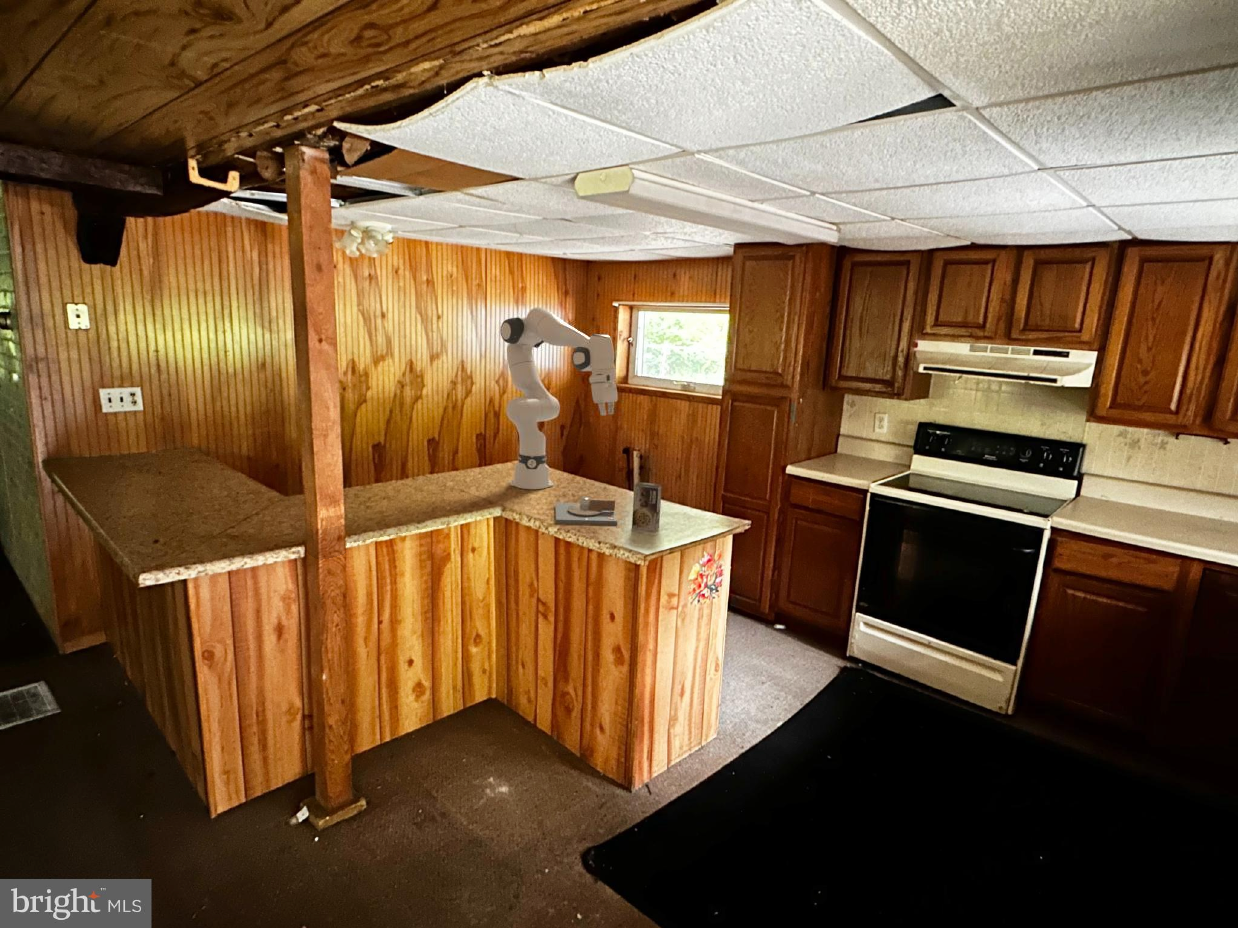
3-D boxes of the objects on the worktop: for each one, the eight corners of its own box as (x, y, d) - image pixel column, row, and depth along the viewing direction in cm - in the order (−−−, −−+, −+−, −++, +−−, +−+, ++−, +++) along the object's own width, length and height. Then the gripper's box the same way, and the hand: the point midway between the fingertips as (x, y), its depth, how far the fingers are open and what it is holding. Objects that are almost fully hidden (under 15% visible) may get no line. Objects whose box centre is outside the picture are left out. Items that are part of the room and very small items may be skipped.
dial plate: (555, 506, 256) (555, 502, 255) (611, 507, 258) (611, 503, 258) (555, 523, 234) (556, 519, 234) (617, 525, 237) (617, 520, 236)
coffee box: (659, 527, 237) (662, 484, 234) (655, 532, 231) (659, 488, 228) (635, 524, 239) (638, 481, 236) (630, 529, 233) (633, 485, 230)
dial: (568, 515, 239) (568, 502, 238) (567, 505, 252) (567, 493, 250) (615, 516, 241) (616, 503, 240) (612, 506, 254) (613, 494, 252)
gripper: (604, 378, 256) (607, 414, 257) (587, 378, 236) (590, 416, 237) (620, 377, 254) (622, 413, 255) (604, 376, 234) (607, 415, 236)
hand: (607, 414), depth 246 cm, fingers open, 8 cm apart
